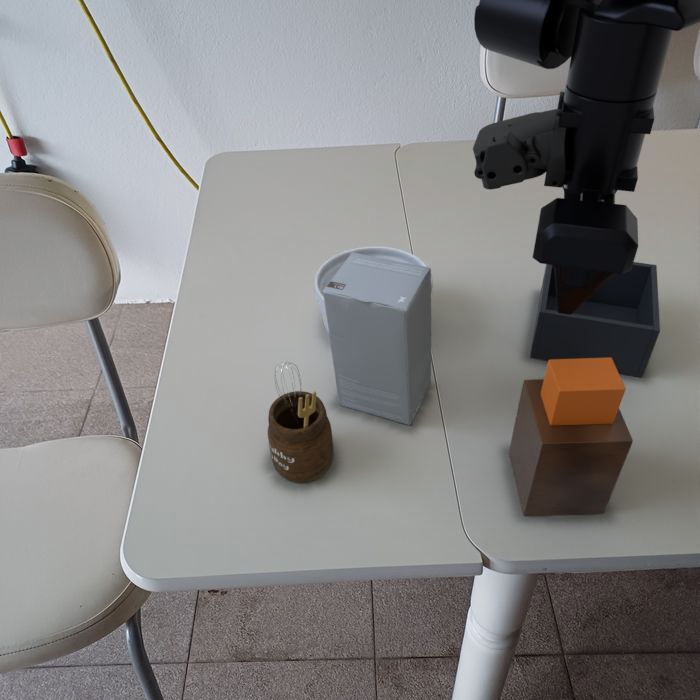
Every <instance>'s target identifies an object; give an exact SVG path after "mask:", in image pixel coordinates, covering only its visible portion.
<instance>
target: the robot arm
mask: <svg viewBox="0 0 700 700" xmlns="http://www.w3.org/2000/svg"><path fill="white" fill-rule="evenodd" d="M473 19H474V21H473V22H474V24H473V25H474V26H473V27H474V32H475V36H476V39H477V41H478V43H479V44H480V46H482V48H483V49H484V50H485V49H486V50H487V51H489V52H493V53H496V54H499V55H502V56H506V57H509V58H511V59H515V60H518V61H521V62H524V63H527V64H530V65H534V66H536V67H538V68H539V67H540V68H542V69H546V70H554V69H557V68H559V67H561V66H562V65H564V64H565V63H566V62H567V61H568V60H569V59H570V61H569V67H568V73H567V78H566V84H565V86H564V87H565V88H564V91H560V92H559V97H558V103H557V108H555V109H550V110H544V111H537V112H531V113H527V114H522V115H519V116H516V117H515V116H514V117H511V118H508V119H504V120H500V121H496V122H492V123H489V124H488V125H485V126H484V127H482V128H480V130H479V131H478V133H477V136H476V139H475V141H474V144H473V147H472V151H473V155H474V159H475V169H474V171H473V173H474V176H475V177H476V178H477V179H478V180H481V183H482V186H483V188H484V189H485V190H496V189H501V188H502V187H506V186H511V185H515V184H519V183H524V181H527V180H530V179H531V180H532V179H534V178H539V177H540V176H541V177H542V176H543V175H544V174H545V178H544V183H543V186H544V187H551V188H558V189H559V188H562V189H563V197H556V198H554V199H552V200H551V201H550V202H548V203H547V204H545V205H544V206H542V207H541V208H540V213H539V217H538V224H537V229H536V234H535V241H534V247H533V253H532V259H534V260H535V261H536V262H538V263H539V264H542V265H546V264H549V265H552V266H553V267H554V271H555V284H556V300H557V312H558V313H561V314H568V315H571V314H573V313H574V312H575V311H576V310H577V309H578V308H579V307H580V306H581V305H582V304H583V303H584V302H585V301H586V300H587V299H588V298H589V297H590V296H591V295H592V294H593V293H594V292H595V291H596V290H597V289H598V288H599V287H600V286H601V285H602V284H604V283H605V282H606V281H607V280H608V279H609V278H611V277H612V276H613V275H614V274H615V273H618V274H623V273H625V272H628V271H630V270H631V269H632V265H633V262H635V259H636V255H637V252H638V249H639V225H638V217H636V215H635V214H634V213H633V211H632V210H631V209H630V208H629V207H628V205H627V204H620V203H616V193H617V192H618V191H621V192H630V193H633V192H635V191H636V187H637V183H638V179H639V170H638V163H639V159H640V156H641V152H642V148H643V146H644V145H643V144H644V141H645V137H646V135H651V133H652V130H653V125H654V122H655V111H654V104H655V101H656V100H655V99H656V97H657V93H658V90H659V85H660V82H661V78H662V74H663V71H664V67H665V64H666V60H667V56H668V52H669V49H670V44H671V41H672V37H673V34H674V32H679V31H680V32H681V31H683V30H686V29H688V28H691V27H694V26H696V25H699V24H700V0H479V2H478V5H477V6H476V7H475V9H474V17H473Z"/></svg>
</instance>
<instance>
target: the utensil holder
mask: <svg viewBox="0 0 700 700" xmlns="http://www.w3.org/2000/svg"><path fill="white" fill-rule="evenodd" d="M292 365H294V367H296V369H297V370H295V372H296V374H297V377H298V381H299V386H300V388H299V389H300V390H297V391H296V390H295V388H296V384H295V383H296V382H295V381H293V380H292V378H293V379H295V377H294V375H292V376H291V374H290V371H289V369H288V367H287V366H290V368H291V372H292V374H294V373H293V366H292ZM284 366H285V368H286V369H287V372H288V375H289V377H290V381H291V386H292V390H293V391H288V388H287V383H286V380H285V376H284V375H283V374H284V371H283V368H284ZM279 368H281V371H280V375H282V377H283V380H282V378H280V382H281V387H282V392H283V393H282V392H281V390H280V387H279V384H278V380H277V375H276V374H277V370H279ZM274 370H275V371H274V377H273V379H275V380H274V383H275V385H276V386H275V388H276V392H277V395H278V397H277V398H276V399H275V400H274V401H273V402H272V404H271V405H270V408H269V410H268V417H267V419H268V421H267V422H268V426H267V441H268V448H269V453H270V458H271V461H272V465H273V467H274V469H275V471H276V472H277V473H278V475H280V476H281V477H282V478H284V479H285V480H286V481H290V482H294V483H309V482H312V481H315V480H317V479H319V478H320V477H322V476H324V475H325V474H326V473H327V472H328V470H329V469H330V468H331V465H332V464H333V459H334V441H333V431H332V426H331V422H330V419H329V417H328V415H327V414H328V413H327V409H326V407H325V404H324V403H323V401H322V400H321V398H320V397H318V396H317V391H313V392H312V393H311V392H308V391H303V390H302V378H300V377H301V375H300V370H299V367H298V366H297V365H296V364H295V363H293V362H291V363H289V361H285V362H283V361H282V362H280V363H279V364H277V365H276V366H275V368H274ZM283 382H284V385H285V389H286V391H287V392H286V393H285V391H284V385H283Z"/></svg>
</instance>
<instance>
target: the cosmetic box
mask: <svg viewBox="0 0 700 700" xmlns="http://www.w3.org/2000/svg"><path fill="white" fill-rule="evenodd" d="M431 275H432V269H431V267H423V266H418V265H413V264H408V263H403V262H398V261H393V260H388V259H383V258H378V257H373V256H368V255H364V254H359V253H355V252H352V253H351V254H350V256H349V257H348V258H347V260H346V261H345V263H344V264H343V265H342V266H341V268H340V269H339V270H338V272H337V273H336V274H335V276H334V277H333V278H332V280H331V281H330V282H329V283H328V285H327V286H326V287H325V289H324V290H323V296H324V302H325V308H326V315H327V322H328V328H329V333H328V335H329V340H330V350H331V355H332V363H333V370H334V376H335V384H336V391H337V398H338V404H339V406H342V407H344V408H345V407H346V408H350V409H353V410H355V411H359V412H363V413H366V414H370V415H373V416H377V417H381V418H383V419H387V420H390V421H395V422H398V423H401V424H405V425H411V424H412V423H413V421H414V419H415V417H416V414H417V412H418V411H419V409H420V406H421V404H422V402H423V400H424V398H425V397H426V394H427V393H428V390H429V388H430V386H431V384H432V294H431Z"/></svg>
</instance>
